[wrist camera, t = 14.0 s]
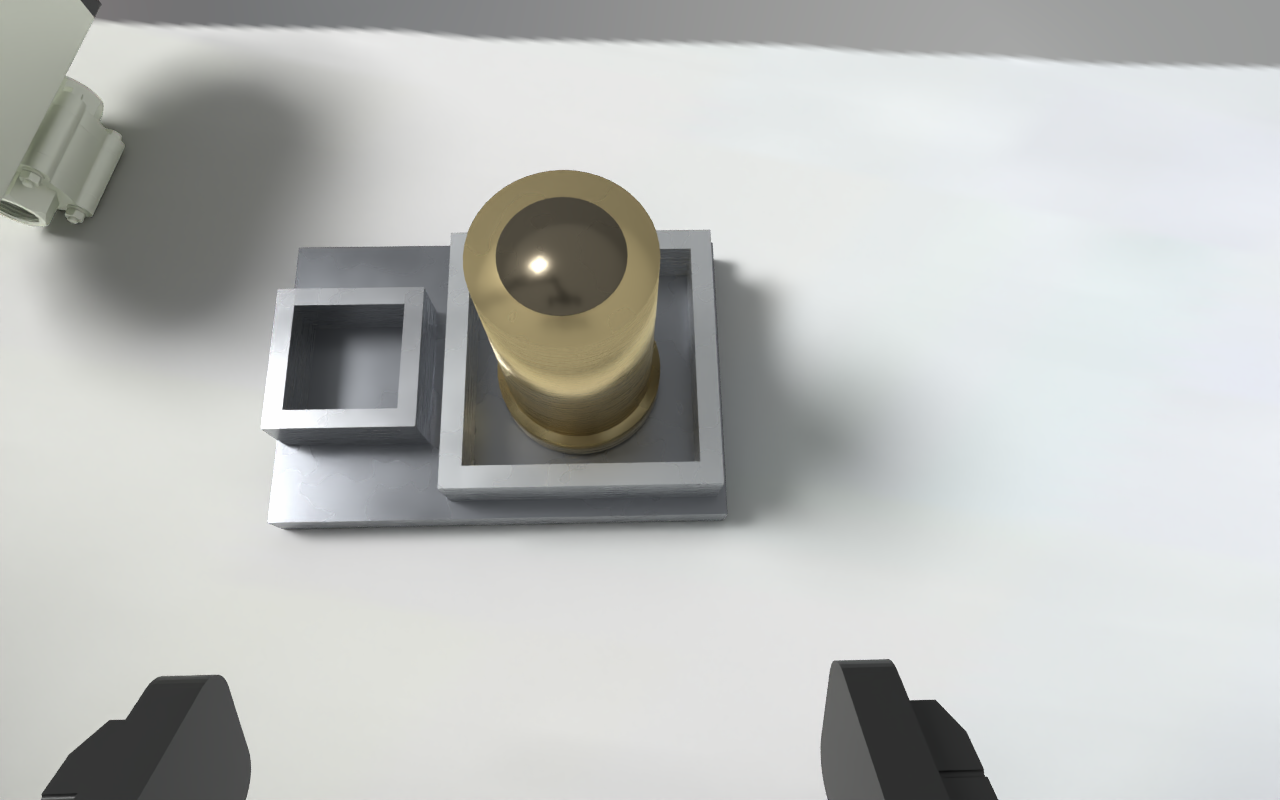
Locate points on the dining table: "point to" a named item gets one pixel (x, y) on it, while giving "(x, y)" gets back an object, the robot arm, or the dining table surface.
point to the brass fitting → (569, 306)
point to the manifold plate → (470, 403)
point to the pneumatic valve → (50, 115)
